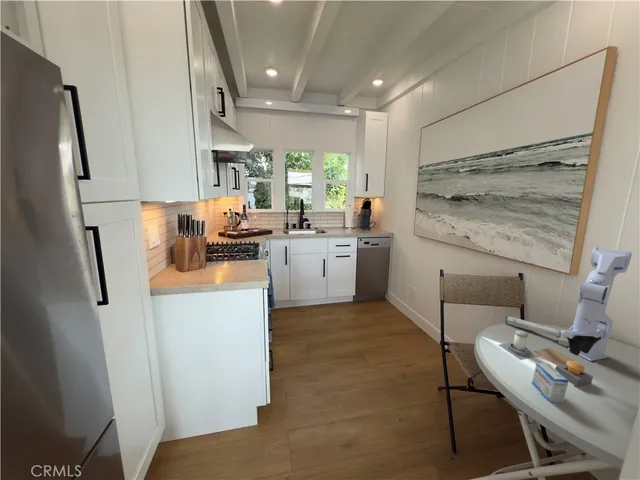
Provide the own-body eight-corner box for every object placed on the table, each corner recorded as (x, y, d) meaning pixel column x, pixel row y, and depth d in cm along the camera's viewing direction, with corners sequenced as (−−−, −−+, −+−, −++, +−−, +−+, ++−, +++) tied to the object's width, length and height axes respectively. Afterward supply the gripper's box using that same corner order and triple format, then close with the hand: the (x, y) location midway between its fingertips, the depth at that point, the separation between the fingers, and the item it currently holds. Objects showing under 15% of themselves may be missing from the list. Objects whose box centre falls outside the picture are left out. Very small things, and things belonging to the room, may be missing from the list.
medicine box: (530, 384, 92) (535, 362, 90) (544, 384, 92) (548, 362, 90) (549, 402, 84) (554, 379, 82) (563, 403, 84) (569, 379, 82)
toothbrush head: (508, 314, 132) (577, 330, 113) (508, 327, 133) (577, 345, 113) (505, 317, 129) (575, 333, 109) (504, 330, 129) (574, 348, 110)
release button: (570, 368, 97) (572, 360, 96) (585, 377, 93) (588, 368, 92) (561, 370, 96) (563, 362, 95) (576, 379, 91) (578, 370, 91)
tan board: (550, 348, 111) (550, 347, 111) (577, 364, 102) (578, 363, 102) (533, 351, 109) (533, 350, 109) (560, 368, 100) (560, 367, 100)
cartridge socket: (516, 342, 116) (517, 339, 115) (539, 356, 106) (540, 353, 106) (497, 345, 113) (498, 342, 113) (520, 360, 104) (520, 357, 103)
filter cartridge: (517, 346, 112) (520, 329, 110) (527, 352, 108) (530, 334, 106) (509, 347, 111) (512, 330, 109) (519, 354, 107) (522, 336, 105)
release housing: (568, 370, 99) (570, 363, 98) (591, 383, 92) (593, 376, 91) (554, 373, 97) (555, 366, 96) (576, 387, 90) (578, 379, 90)
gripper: (585, 326, 84) (576, 363, 87) (618, 320, 87) (608, 356, 90) (561, 315, 90) (553, 350, 93) (592, 310, 94) (583, 344, 97)
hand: (578, 352), depth 92 cm, fingers open, 4 cm apart
